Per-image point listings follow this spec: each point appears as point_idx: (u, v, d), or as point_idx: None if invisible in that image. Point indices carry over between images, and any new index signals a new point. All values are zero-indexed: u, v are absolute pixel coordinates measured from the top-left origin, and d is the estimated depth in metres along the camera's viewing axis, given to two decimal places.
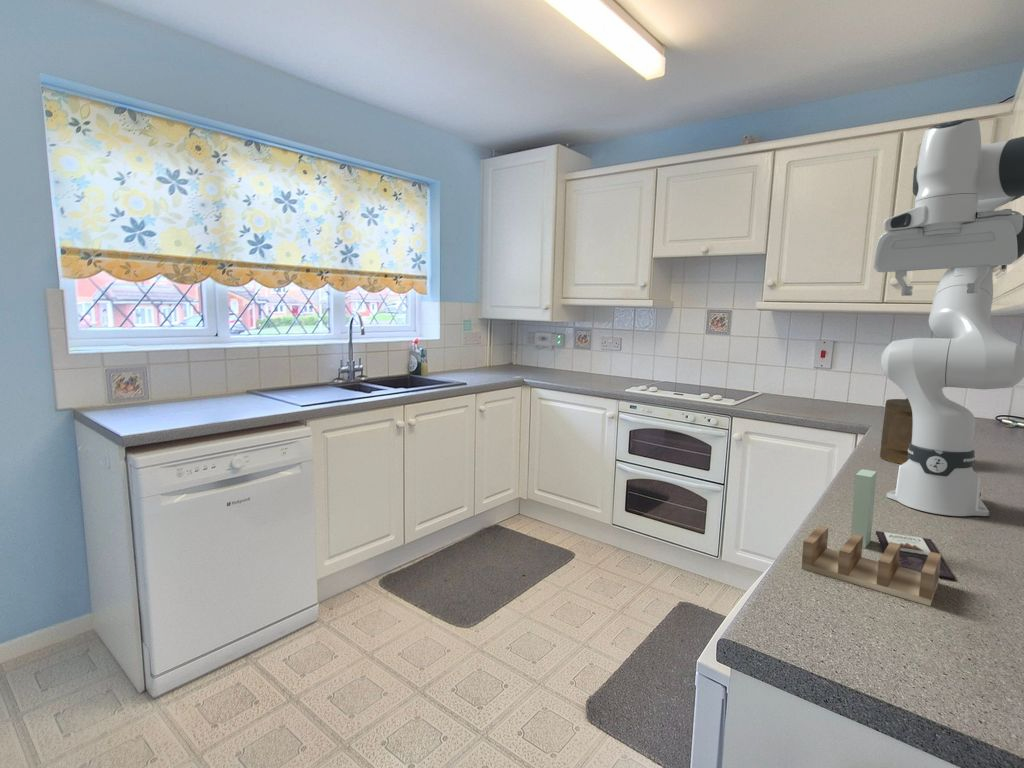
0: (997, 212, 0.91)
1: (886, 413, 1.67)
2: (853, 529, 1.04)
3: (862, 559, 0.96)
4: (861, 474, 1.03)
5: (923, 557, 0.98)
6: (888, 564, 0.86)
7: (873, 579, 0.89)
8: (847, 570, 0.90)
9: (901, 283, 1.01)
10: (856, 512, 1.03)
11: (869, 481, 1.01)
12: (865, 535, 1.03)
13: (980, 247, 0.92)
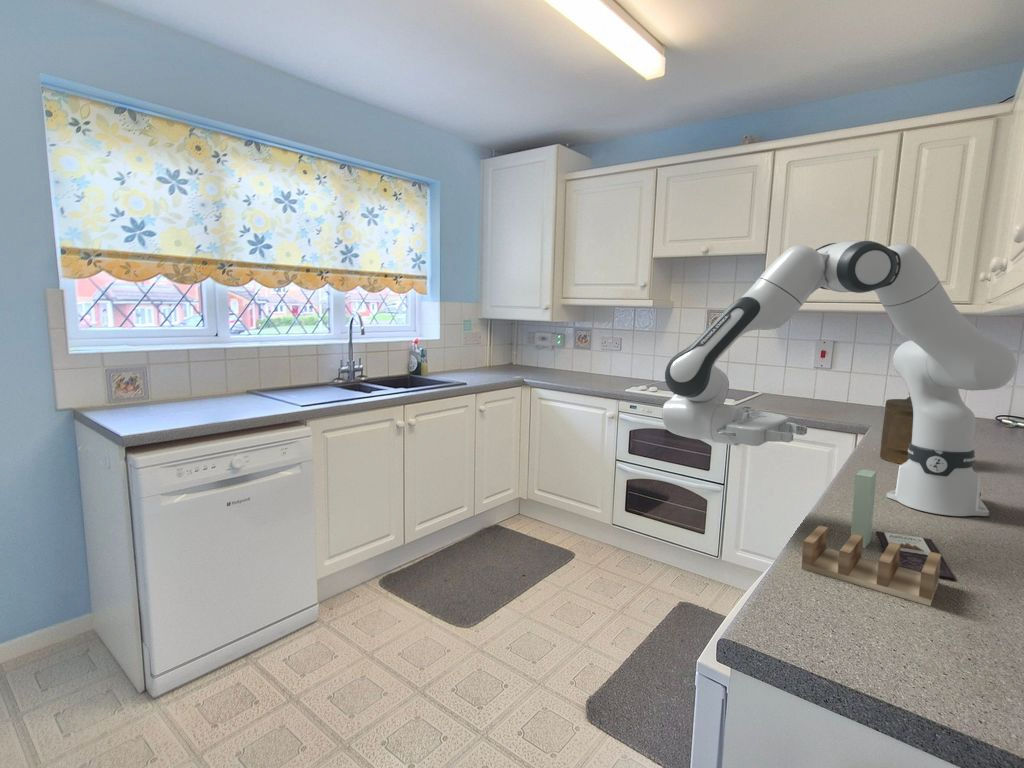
0: None
1: (886, 413, 1.67)
2: (853, 529, 1.04)
3: (862, 559, 0.96)
4: (861, 474, 1.03)
5: (923, 557, 0.98)
6: (888, 564, 0.86)
7: (873, 579, 0.89)
8: (847, 570, 0.90)
9: (795, 433, 1.17)
10: (856, 512, 1.03)
11: (869, 481, 1.01)
12: (865, 535, 1.03)
13: None
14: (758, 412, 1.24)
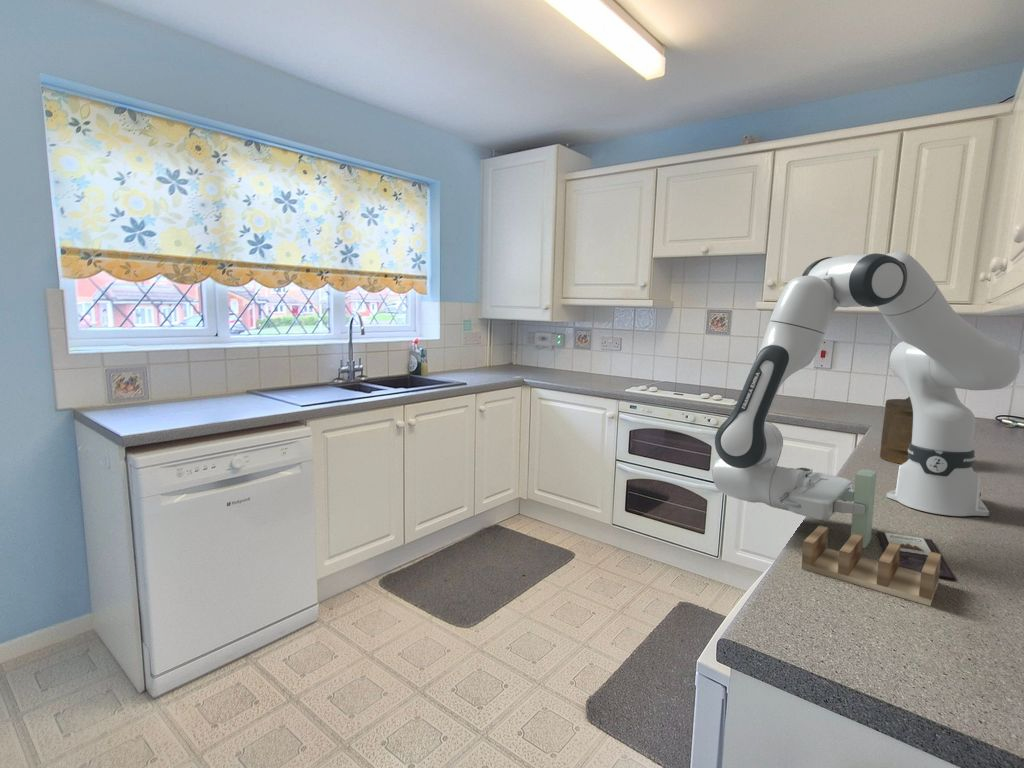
0: None
1: (886, 413, 1.67)
2: (853, 529, 1.04)
3: (862, 559, 0.96)
4: (861, 474, 1.03)
5: (924, 557, 0.98)
6: (888, 564, 0.86)
7: (873, 579, 0.89)
8: (847, 570, 0.90)
9: None
10: None
11: (869, 481, 1.01)
12: (865, 535, 1.03)
13: None
14: (818, 474, 1.16)
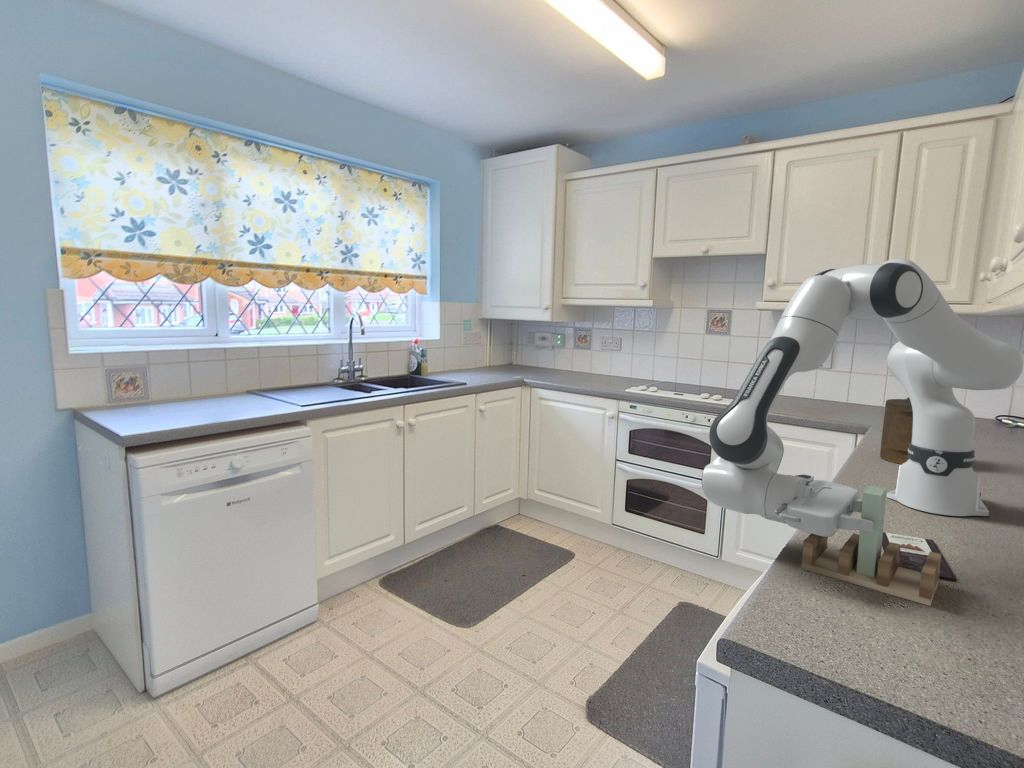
0: None
1: (886, 413, 1.67)
2: (860, 555, 0.90)
3: None
4: (869, 492, 0.89)
5: (924, 558, 0.98)
6: (888, 564, 0.86)
7: (873, 579, 0.89)
8: (847, 570, 0.90)
9: None
10: (863, 536, 0.90)
11: (879, 500, 0.88)
12: (874, 562, 0.89)
13: None
14: (820, 482, 1.02)
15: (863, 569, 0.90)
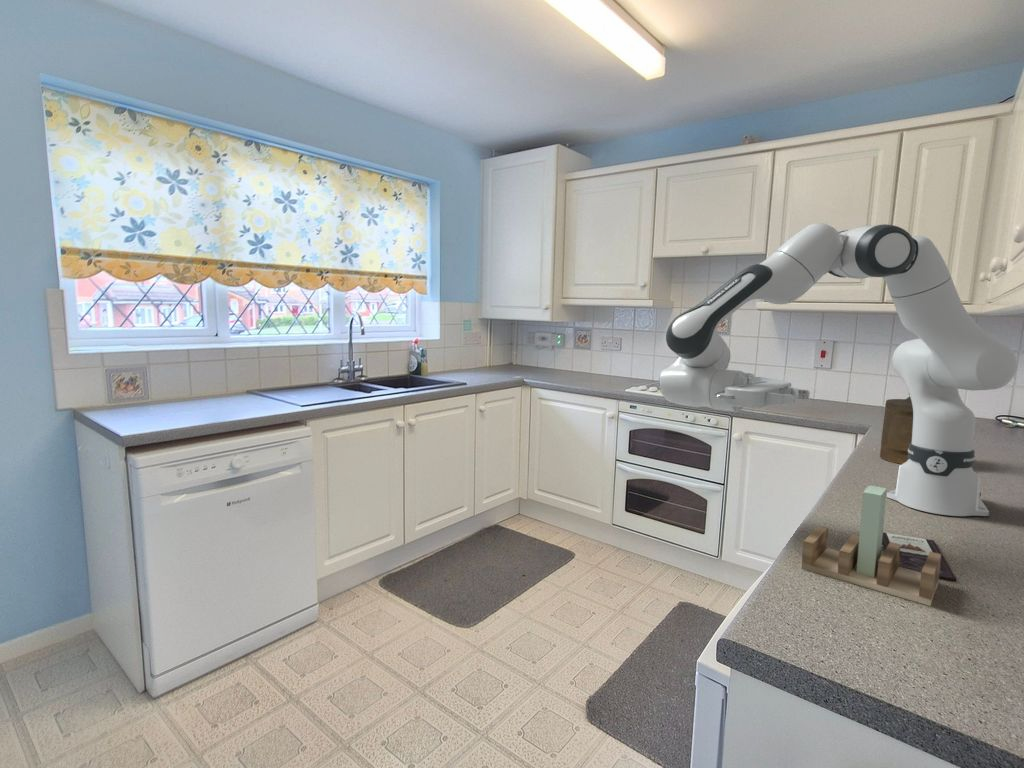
0: None
1: (886, 413, 1.67)
2: (860, 555, 0.90)
3: None
4: (869, 492, 0.89)
5: (925, 558, 0.98)
6: (888, 564, 0.86)
7: (873, 579, 0.89)
8: (847, 570, 0.90)
9: (797, 397, 1.12)
10: (863, 536, 0.90)
11: (879, 500, 0.88)
12: (874, 562, 0.89)
13: None
14: (758, 378, 1.19)
15: (863, 569, 0.90)
